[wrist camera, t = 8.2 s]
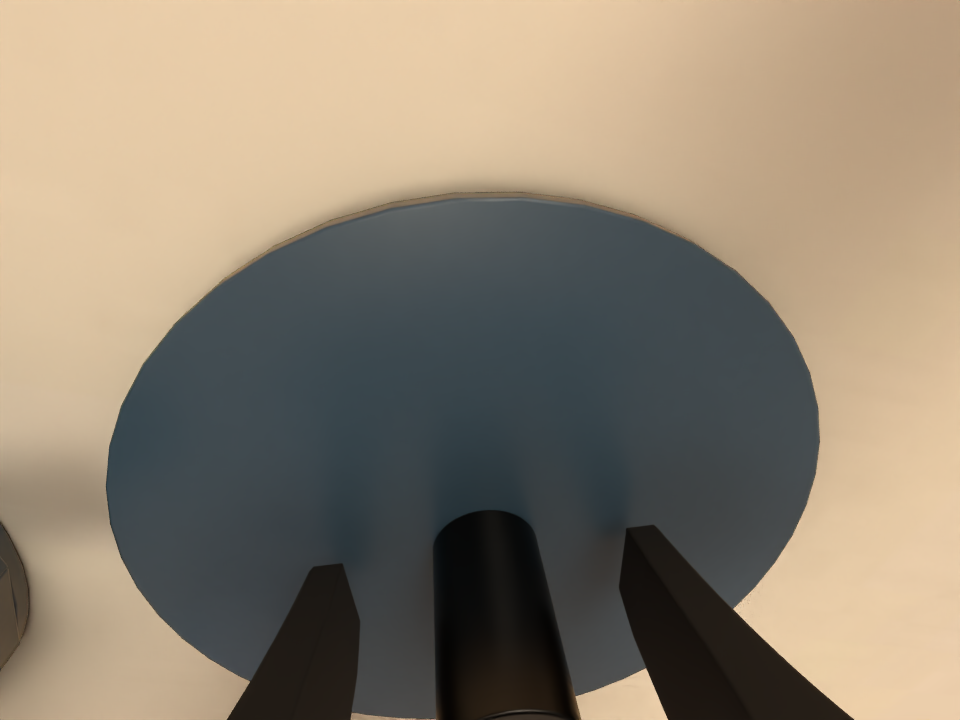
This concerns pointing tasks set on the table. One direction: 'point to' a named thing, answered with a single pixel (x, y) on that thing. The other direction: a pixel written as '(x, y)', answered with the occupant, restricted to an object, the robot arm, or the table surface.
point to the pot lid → (461, 445)
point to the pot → (11, 598)
